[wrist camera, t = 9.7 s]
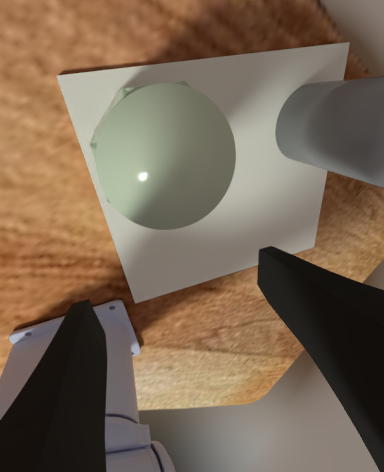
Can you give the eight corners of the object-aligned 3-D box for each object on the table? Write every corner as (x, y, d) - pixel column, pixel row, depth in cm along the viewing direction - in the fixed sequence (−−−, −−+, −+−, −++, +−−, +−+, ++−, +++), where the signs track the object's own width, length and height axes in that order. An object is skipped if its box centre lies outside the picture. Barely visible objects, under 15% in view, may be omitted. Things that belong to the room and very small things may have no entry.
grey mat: (134, 300, 23) (135, 303, 23) (57, 76, 14) (56, 75, 13) (311, 245, 27) (313, 247, 27) (345, 43, 18) (350, 41, 17)
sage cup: (113, 188, 17) (118, 244, 10) (86, 97, 14) (70, 92, 7) (188, 173, 18) (237, 214, 12) (178, 86, 15) (235, 73, 9)
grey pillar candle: (273, 165, 20) (356, 197, 13) (277, 88, 17) (386, 79, 11) (328, 153, 21) (430, 176, 15) (341, 78, 18) (476, 65, 12)
